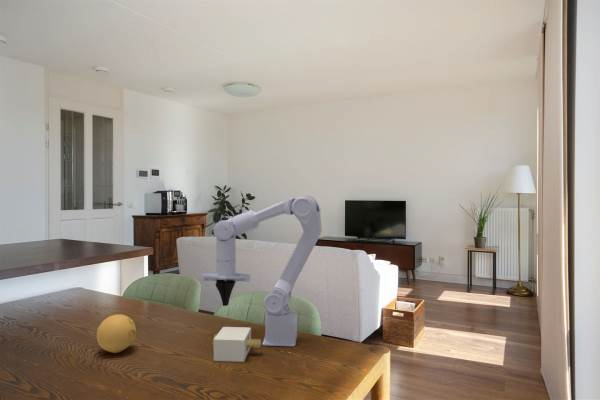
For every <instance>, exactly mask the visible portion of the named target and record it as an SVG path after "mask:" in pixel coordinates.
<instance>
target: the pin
mask: <svg viewBox="0 0 600 400" xmlns="http://www.w3.org/2000/svg"><path fill="white" fill-rule="evenodd" d="M216 336H217V334H214V335H213V337H212V344H211V347H212V351H214V338H215V337H216ZM261 346H262V339H261V338H260V339H259V338H251V339H246V347H247V348H250V349H251V348H255V349H260V348H261Z"/></svg>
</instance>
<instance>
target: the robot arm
mask: <svg viewBox="0 0 600 400" xmlns="http://www.w3.org/2000/svg"><path fill="white" fill-rule="evenodd" d="M280 215H289V216H292V215H294V217H296V219H297V220H298V221H299V223H300V226H301V229H302V230H303V233H302V234H301V236H300V238H299V240H298V242H297V244H296V246H295V248H294V250H292V251H293V252H292V254H291V256H290V257H289V260H288V261H287V263H286V265H285V267H284V269H283V271H282V273H281V274H280V277H279V279H278V280H277V281H276V284H274V286H273V288H272V290H271V291H270V292H269V293H267V294H266V295H265V296H264V298H263V308H264V309H265V312H264V313H265V318H264V319H265V320H264V321H265V327H264V328H265V329H264V331H265V333H264V338H263V341H262V342H261V346H266V347H268V346H271V347H272V346H273V347H275V346H276V347H295V346H296V345H297V339H298V331H297V330H298V327H297V326H298V314H297V311H292V310H291V308H290V307H289V305H288V304H289V303H290V302H291V299H292V291H293V289H294V287H295V283H296V282H297V281H298V278H299V276H300V274H301V273H302V271H303V268H305V265H306V263H307V261H308V259H309V258H310V255H311V253H312V251H313V249H314V247H316V243H317V242H318V239H319V238H320V236H321V234H322V231H323V229H322V218H321V207H320V205H319V203H318V201H317V200H316V199H315V197H313V196H310V195H300V196H298V197H294V198H290V199H286V200H285V199H284V200H282V201H279V202H277V203H275V204H272V205H270V206H268V207H265V208H264V209H261V210H259V211H254V210H251V209H249V210H248V209H243V210H242V211H241V213H239V214H236V215H234V216H232V215H230V216H228V217H227V218H228V219H226V220H224V219H223V220H219V221H217V222H216V223H215V225H214V227H213V234H214V237H215V238H216V247H215V249H216V250H215V251H216V254H215V255H216V256H215V259H216V260H215V262H216V263H215V265H216V272H213V273H212V272H209V273H206V272H205V273H202V274H201V276H200V277H201V278H200V279H201V282H206V281H208V282H209V281H210V282H212V281H213V282H215V287H216V289H217V290H218V293H219V296H220V298H221V302H222V306H223V307H227V306H229V303H230V298H231V295H232V292H233V290H234V287H235V285H236V283H237V282H245V283H250V282H251V274H250V273H249V274H247V273H246V274H245V273H236V264H237V263H236V259H237V257H236V252H237V251H236V249H237V248H236V237H237V236H240V235H242V234H245V233H248V232H251V231H253V230H255V229H257V228H258V227H259V225H260V223H261V222H265V221H267V220H269V219H271V218H275V217H278V216H280Z"/></svg>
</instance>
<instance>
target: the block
mask: <svg viewBox="0 0 600 400" xmlns="http://www.w3.org/2000/svg"><path fill="white" fill-rule="evenodd" d="M216 335H217V336H216V337H215V338H214V350H213V361H214V362H239V363H241V362H242V363H244V362H245V361H246V358H247V357H248V355H249V352H250V350H251V348H247V347H246V339H252V327H247V326H246V327H244V326H243V327H242V326H241V327H240V326H237V327H236V326H223V327H222V328H221V329H220V330H219V332H218V333H217V334H216Z"/></svg>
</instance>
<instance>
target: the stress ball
mask: <svg viewBox="0 0 600 400" xmlns="http://www.w3.org/2000/svg"><path fill="white" fill-rule="evenodd" d="M136 332H137V329H136V325H135V322H134V320H133V318H131V317H129V316H127V315H126V314H123V313H121V314H113V315H110V316H108V317H106V318H105V319H103V321H101V322H100V324H99V326H98V328H97V331H96V340H97V343H98V345H99V346H100V347H101V348H102V350H104V351H106V352H109V353H112V354H119V353H121V352H122V351H124V350H126V349H127V348H128V347H130V346H131V345H132V344H133V342H134V340H135V338H136V335H137V333H136Z"/></svg>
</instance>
